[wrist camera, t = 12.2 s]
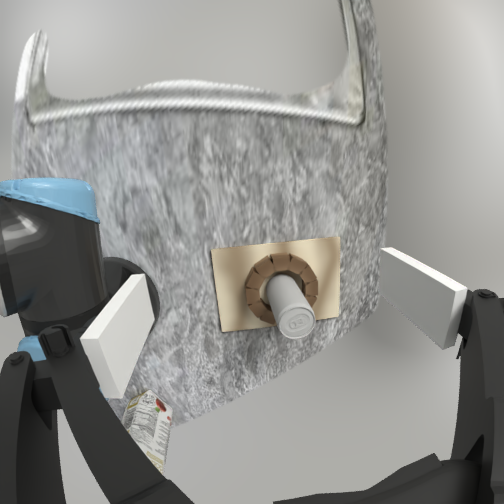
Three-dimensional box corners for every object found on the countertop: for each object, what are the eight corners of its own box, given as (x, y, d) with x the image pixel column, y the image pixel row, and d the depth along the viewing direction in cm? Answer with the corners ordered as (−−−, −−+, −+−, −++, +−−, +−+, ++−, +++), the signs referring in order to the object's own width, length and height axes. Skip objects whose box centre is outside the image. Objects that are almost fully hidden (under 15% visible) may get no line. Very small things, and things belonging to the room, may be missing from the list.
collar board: (222, 330, 48) (222, 339, 45) (211, 249, 44) (210, 254, 41) (337, 315, 49) (343, 323, 46) (338, 236, 45) (345, 240, 42)
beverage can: (299, 293, 46) (321, 330, 35) (271, 305, 47) (286, 346, 35) (288, 267, 45) (309, 299, 34) (260, 280, 45) (271, 315, 34)
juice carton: (149, 384, 50) (128, 459, 31) (178, 410, 52) (168, 484, 34) (125, 397, 50) (101, 467, 32) (154, 421, 53) (140, 490, 34)
